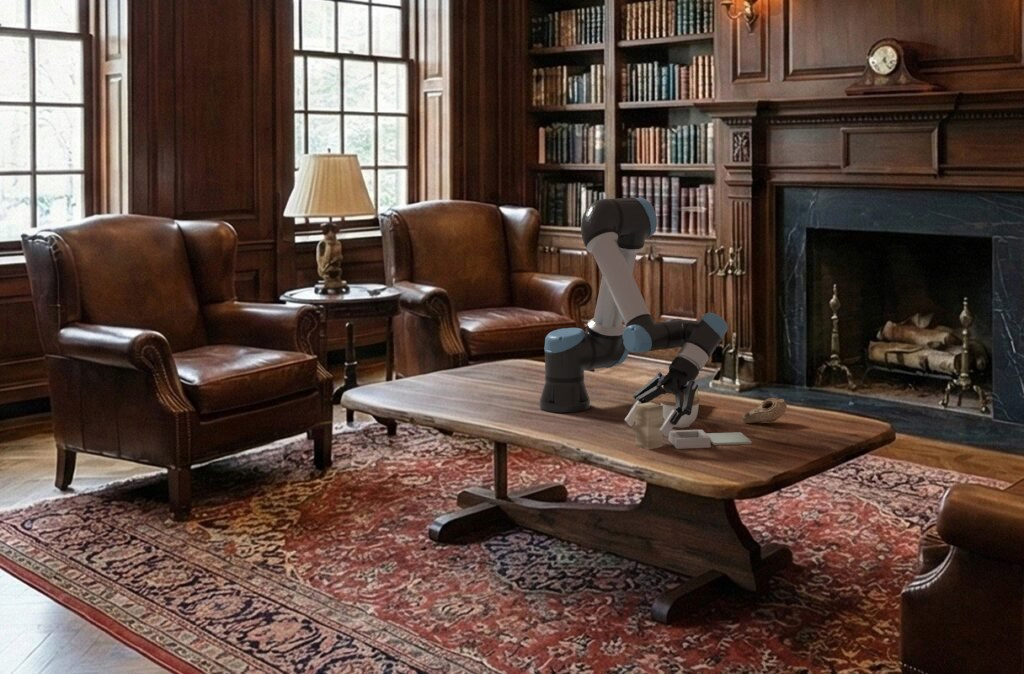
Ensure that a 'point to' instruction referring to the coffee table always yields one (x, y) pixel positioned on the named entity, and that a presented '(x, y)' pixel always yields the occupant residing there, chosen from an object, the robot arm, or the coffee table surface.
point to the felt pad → (728, 438)
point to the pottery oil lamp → (766, 411)
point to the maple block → (648, 425)
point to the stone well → (689, 439)
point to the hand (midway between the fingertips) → (645, 428)
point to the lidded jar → (670, 405)
